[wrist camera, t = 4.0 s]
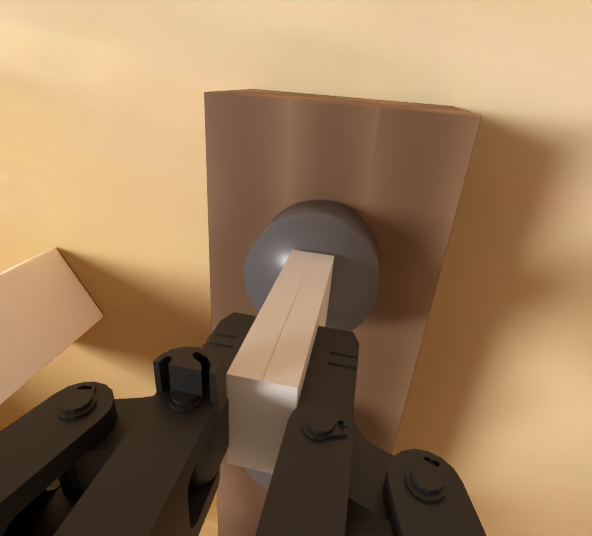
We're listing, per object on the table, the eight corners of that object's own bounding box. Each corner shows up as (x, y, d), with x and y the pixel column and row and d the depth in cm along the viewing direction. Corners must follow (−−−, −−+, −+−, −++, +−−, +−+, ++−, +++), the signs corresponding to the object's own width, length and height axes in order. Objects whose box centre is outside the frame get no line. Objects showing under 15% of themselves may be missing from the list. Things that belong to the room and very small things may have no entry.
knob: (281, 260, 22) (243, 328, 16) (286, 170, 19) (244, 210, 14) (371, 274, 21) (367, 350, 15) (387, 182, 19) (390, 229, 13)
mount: (244, 487, 34) (219, 561, 29) (251, 89, 20) (204, 92, 15) (358, 514, 33) (353, 598, 28) (453, 106, 19) (481, 116, 13)
